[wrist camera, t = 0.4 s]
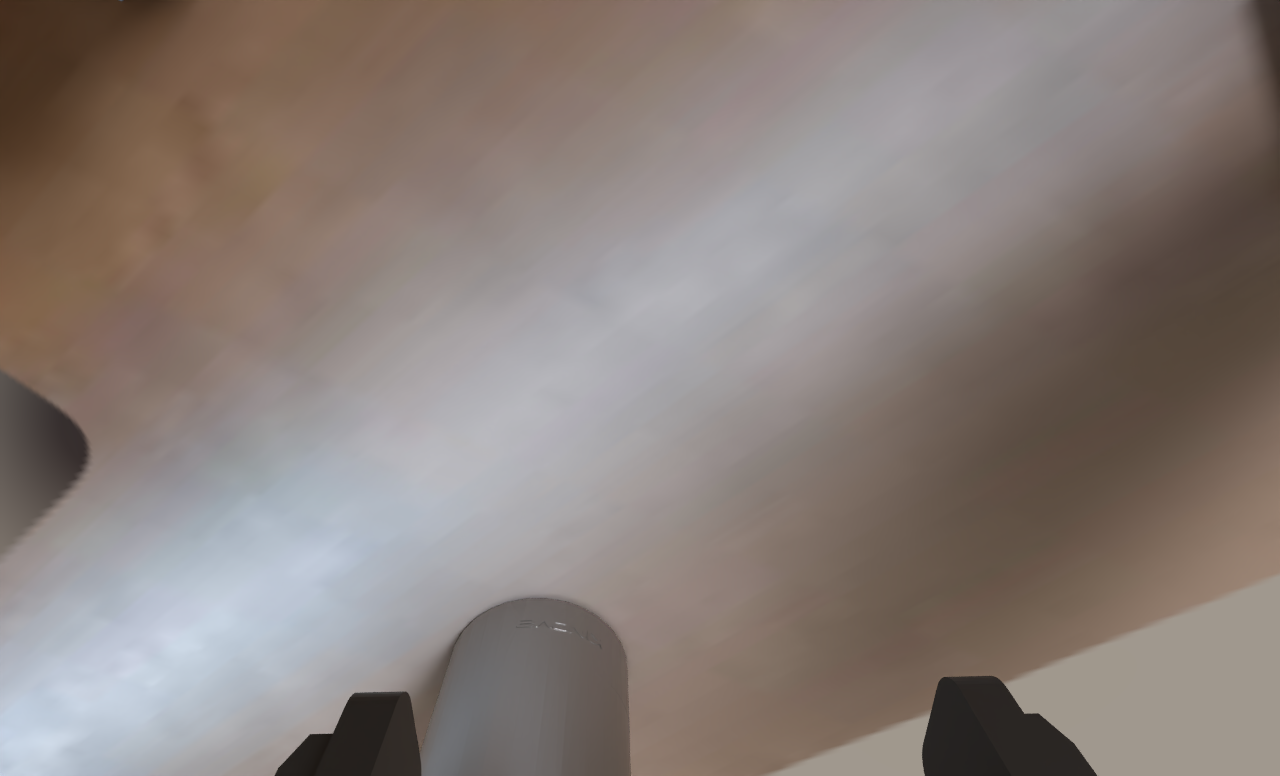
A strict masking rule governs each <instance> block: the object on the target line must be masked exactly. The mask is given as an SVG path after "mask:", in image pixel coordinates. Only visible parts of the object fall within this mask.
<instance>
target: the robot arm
mask: <svg viewBox="0 0 1280 776" xmlns="http://www.w3.org/2000/svg"><path fill="white" fill-rule="evenodd" d="M629 733H630V727H629V698H628V671H627V661H626V655H625V652H624V650H623V647H622V644H621V642H620V640H619V639H618V637H617V636H616V635H615V633H614V632H613V630H612V629H611V628H610V627H609V626H608V625H607V624H606V623H605V622H604V621H603V620H601V619H600V618H599V617H598V616H596V615H594V614H593V613H591V612H589V611H588V610H586V609H584V608H582V607H579V606H577V605H574V604H571V603H568V602H566V601H560V600H554V599H548V598H527V599H521V600H516V601H511V602H507V603H504V604H502V605H499V606H497V607H494V608H491V609H490V610H488V611H486V612H485V613H483V614H482V615H480V616H479V617H477V618H475V619H474V620H473V621H472V622H471V623H470V624H469V625H468V626H467V627H466V628H465V629H464V630H463V632H462V634H461V635H460V637H459V639H458V640H457V642H456V643H455V646H454V649H453V652H452V655H451V658H450V662H449V665H448V668H447V671H446V674H445V677H444V680H443V683H442V686H441V689H440V693H439V696H438V699H437V702H436V705H435V708H434V710H433V713H432V716H431V720H430V723H429V726H428V729H427V732H426V735H425V739H424V742H423V745H422V748H421V751H420V753H419V747H418V741H417V735H416V729H415V723H414V717H413V711H412V705H411V700H410V696H409V694H408V693H407V692H369V693H354V694H353V695H352V696H351V697H350V698H349V700H348V702H347V704H346V706H345V708H344V710H343V712H342V715H341V717H340V719H339V721H338V724H337V726H336V728H335V730H334V733H333V734H310V735H309V736H308V737H307V738H306V739H305V740H304V742H303V743H302V744H301V745H300V746H299V747H298V748H297V749H296V750H295V751H294V752H293V753H292V754H291V755H290V756H289V758H288V759H287V760H286V761H285V762H284V763H283V764H282V765H281V766H280V767H279V768H278V770H277V772H276V774H275V776H631V764H630V734H629ZM922 760H923V767H924V773H925V776H1097V775H1096V773H1095V772H1094V770H1093V769H1092V768H1091V766H1090V765H1089V764H1088V762H1087V761H1086V759H1085V758H1084V757H1083V755H1082V754H1081V752H1080V751H1079V750H1078V749H1077V747H1076V746H1075V744H1074V743H1073V742H1071V741H1070V740H1069V739H1068V738H1067V737H1065V736H1064V735H1063V734H1062V733H1061V732H1060V731H1058V730H1057V729H1056V728H1055V727H1054V726H1052V725H1051V724H1050V723H1049V722H1048V721H1047V720H1046V719H1044V718H1043V717H1042V716H1041V715H1040V714H1024V713H1023V711H1022V710H1021V708H1020V707H1019V705H1018V704H1017V702H1016V701H1015V699H1014V698H1013V696H1012V695H1011V693H1010V692H1009V690H1008V689H1007V688H1006V686H1005V685H1004V684H1003V683H1002V682H1001V681H1000V680H999V679H998V678H996V677H994V676H969V677H944V678H942V679H941V680H940V681H939V683H938V686H937V690H936V694H935V698H934V702H933V706H932V710H931V714H930V719H929V723H928V727H927V731H926V735H925V739H924V743H923V750H922Z"/></svg>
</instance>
